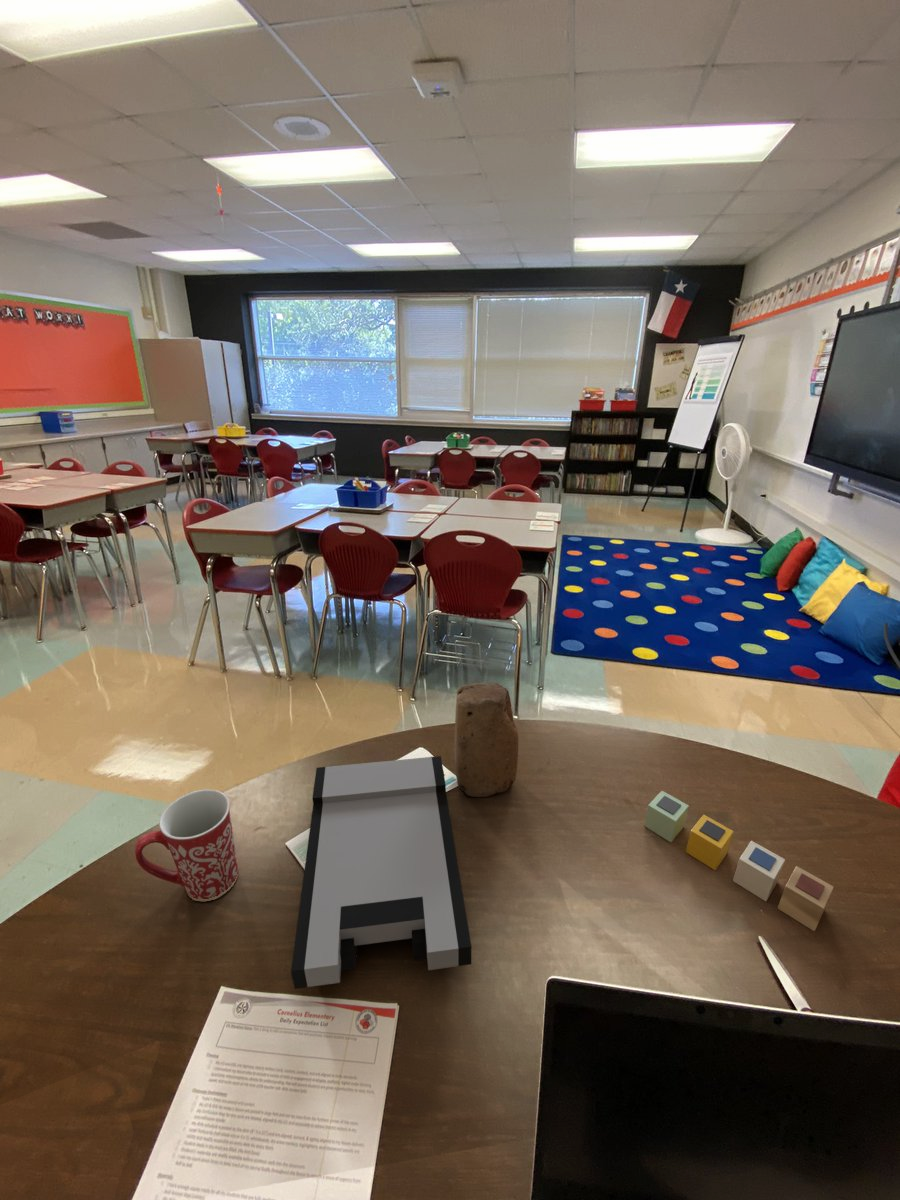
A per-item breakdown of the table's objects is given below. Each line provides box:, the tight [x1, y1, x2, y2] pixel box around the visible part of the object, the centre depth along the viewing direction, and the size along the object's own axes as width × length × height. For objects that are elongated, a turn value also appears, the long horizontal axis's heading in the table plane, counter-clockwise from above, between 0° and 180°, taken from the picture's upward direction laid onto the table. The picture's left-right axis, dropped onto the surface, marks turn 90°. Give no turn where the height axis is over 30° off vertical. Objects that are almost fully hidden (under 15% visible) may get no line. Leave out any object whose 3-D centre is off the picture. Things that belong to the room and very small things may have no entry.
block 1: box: [453, 682, 519, 798], centre depth 93 cm, size 11×8×20 cm
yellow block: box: [685, 814, 735, 871], centre depth 83 cm, size 5×5×5 cm
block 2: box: [644, 790, 690, 843], centre depth 87 cm, size 5×5×5 cm
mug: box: [134, 788, 239, 899], centre depth 76 cm, size 13×9×14 cm
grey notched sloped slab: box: [290, 755, 473, 990], centre depth 78 cm, size 21×32×8 cm, turn 7°
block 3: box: [732, 840, 786, 902], centre depth 78 cm, size 5×5×5 cm
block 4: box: [777, 865, 835, 932], centre depth 74 cm, size 5×5×5 cm
